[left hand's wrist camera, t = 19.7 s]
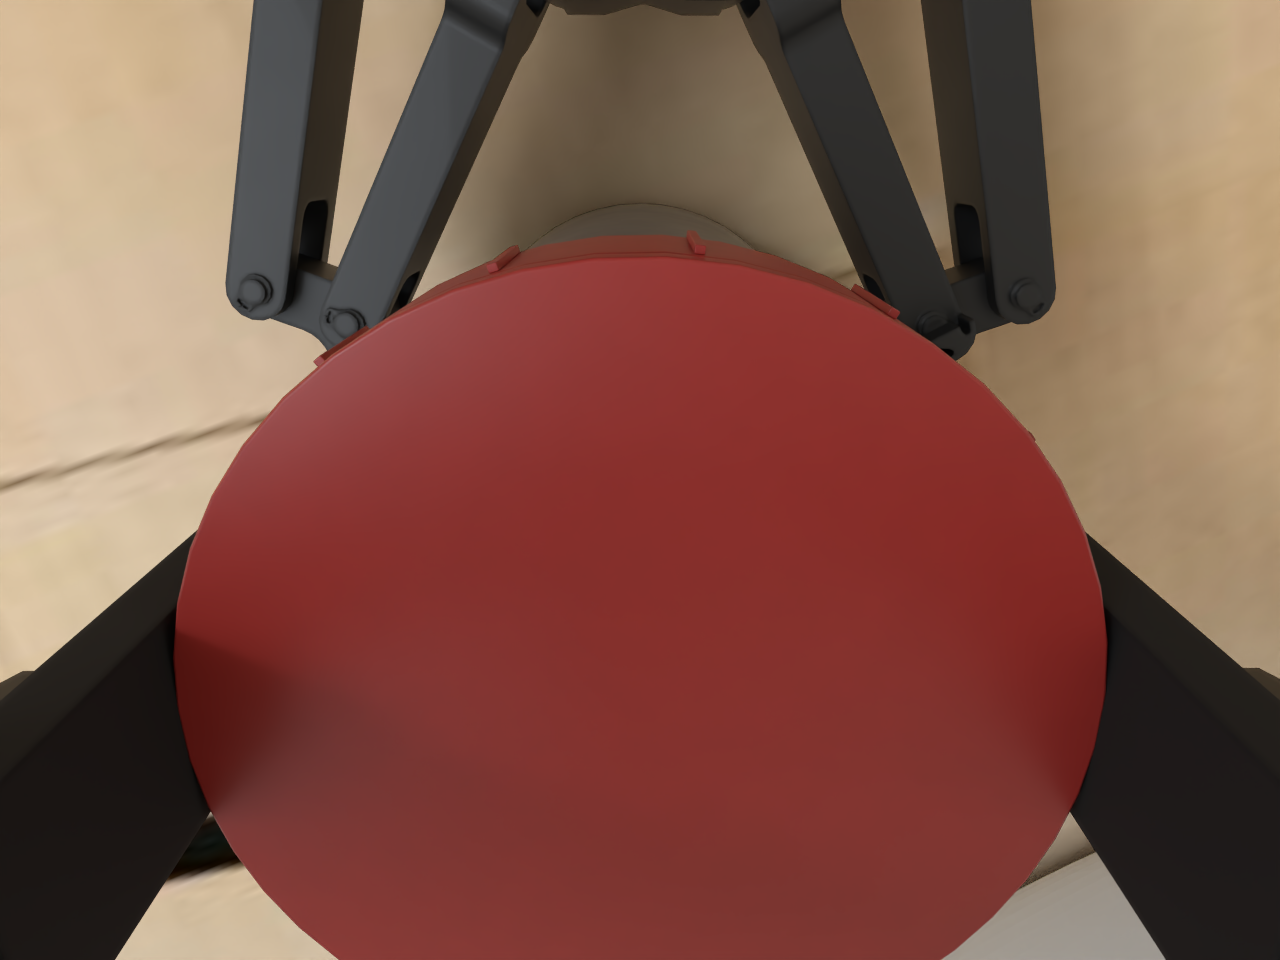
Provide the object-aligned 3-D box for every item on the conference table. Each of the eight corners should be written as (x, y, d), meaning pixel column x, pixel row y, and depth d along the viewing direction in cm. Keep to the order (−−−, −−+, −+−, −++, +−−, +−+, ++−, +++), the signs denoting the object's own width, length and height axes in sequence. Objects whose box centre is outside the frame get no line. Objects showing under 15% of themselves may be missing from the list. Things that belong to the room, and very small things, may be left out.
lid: (1001, 894, 14) (1068, 1031, 12) (342, 936, 14) (289, 1077, 12) (1054, 195, 10) (1165, 208, 8) (164, 273, 10) (42, 306, 8)
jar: (609, 129, 24) (552, 96, 8) (866, 341, 26) (1199, 626, 10) (419, 397, 26) (111, 745, 11) (666, 571, 28) (697, 1069, 13)
